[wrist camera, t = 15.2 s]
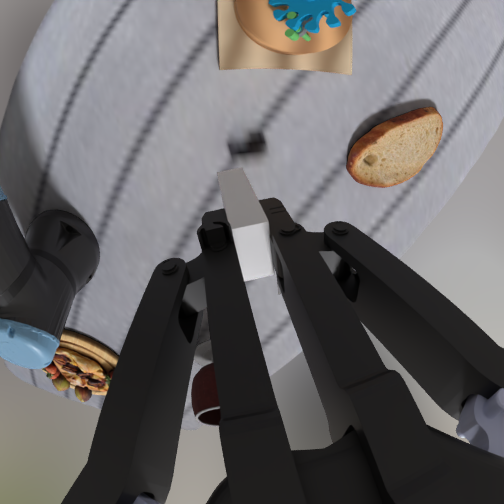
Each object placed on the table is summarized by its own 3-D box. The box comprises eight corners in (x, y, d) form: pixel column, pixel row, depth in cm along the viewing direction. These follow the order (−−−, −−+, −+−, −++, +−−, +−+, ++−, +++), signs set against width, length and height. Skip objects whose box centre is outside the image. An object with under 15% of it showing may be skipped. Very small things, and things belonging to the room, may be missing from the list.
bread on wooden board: (219, 69, 30) (221, 68, 26) (216, -41, 20) (219, -57, 15) (347, 74, 32) (366, 76, 28) (344, -28, 22) (362, -37, 17)
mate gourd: (239, 368, 70) (251, 437, 54) (187, 366, 66) (190, 438, 50) (255, 334, 62) (272, 413, 46) (194, 330, 58) (198, 415, 42)
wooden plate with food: (132, 341, 58) (127, 371, 52) (132, 397, 75) (130, 419, 68) (17, 311, 49) (5, 336, 42) (44, 374, 65) (38, 395, 58)
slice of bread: (442, 113, 37) (456, 118, 34) (413, 196, 47) (424, 205, 44) (368, 74, 33) (382, 75, 30) (338, 177, 43) (348, 186, 40)
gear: (292, -45, 16) (372, -23, 14) (314, -22, 21) (384, 4, 18) (246, 20, 23) (320, 50, 20) (273, 36, 27) (338, 68, 25)
